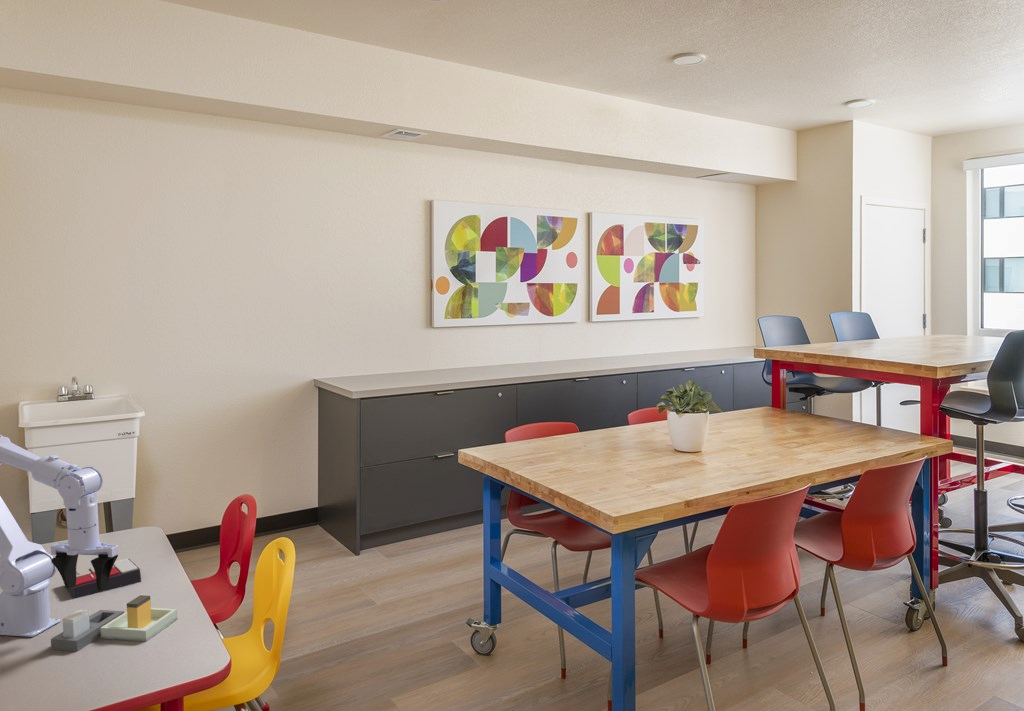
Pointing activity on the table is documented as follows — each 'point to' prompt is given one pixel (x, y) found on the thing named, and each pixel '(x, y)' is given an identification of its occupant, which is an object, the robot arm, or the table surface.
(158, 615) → the parts tray
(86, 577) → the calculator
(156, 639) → the table surface
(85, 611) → the block
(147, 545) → the table surface
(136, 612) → the yellow rectangular block
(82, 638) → the block
